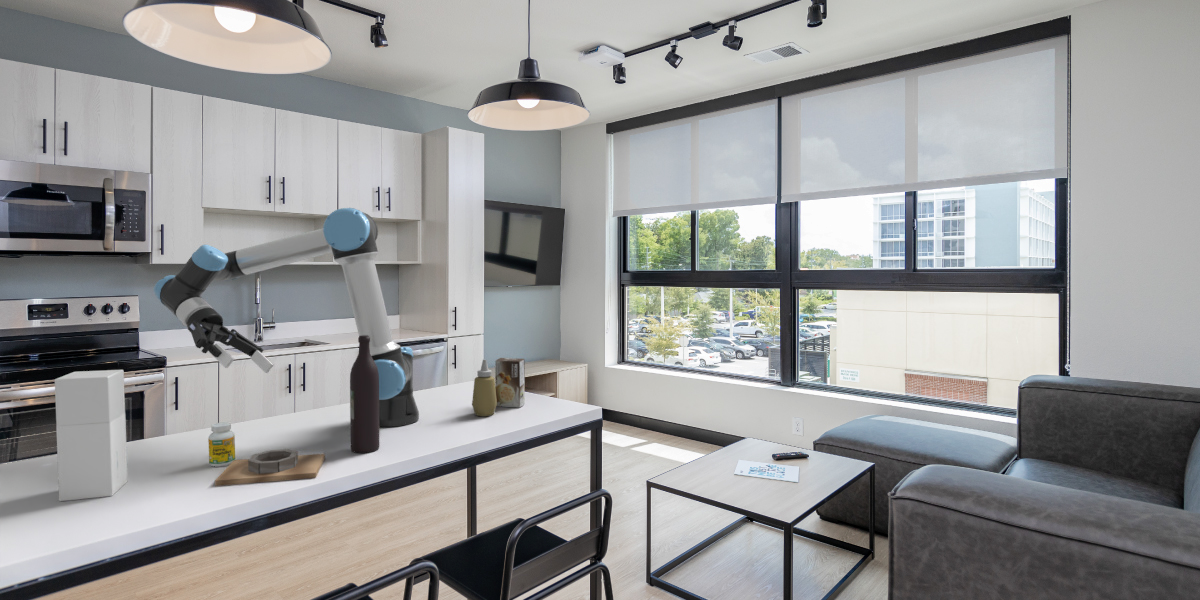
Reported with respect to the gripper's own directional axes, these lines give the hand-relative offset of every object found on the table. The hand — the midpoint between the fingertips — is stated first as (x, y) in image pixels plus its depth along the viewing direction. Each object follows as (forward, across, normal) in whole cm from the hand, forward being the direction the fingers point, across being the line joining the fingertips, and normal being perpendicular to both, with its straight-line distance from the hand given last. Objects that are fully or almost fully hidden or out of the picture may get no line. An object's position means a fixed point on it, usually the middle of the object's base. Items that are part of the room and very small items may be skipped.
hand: (250, 366), depth 151 cm
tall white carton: (+6, +23, -31) cm, 39 cm away
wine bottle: (+33, -14, -1) cm, 36 cm away
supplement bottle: (+13, +3, -20) cm, 24 cm away
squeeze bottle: (+40, -54, +17) cm, 70 cm away
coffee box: (+41, -68, +22) cm, 83 cm away
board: (+26, +5, -12) cm, 29 cm away
